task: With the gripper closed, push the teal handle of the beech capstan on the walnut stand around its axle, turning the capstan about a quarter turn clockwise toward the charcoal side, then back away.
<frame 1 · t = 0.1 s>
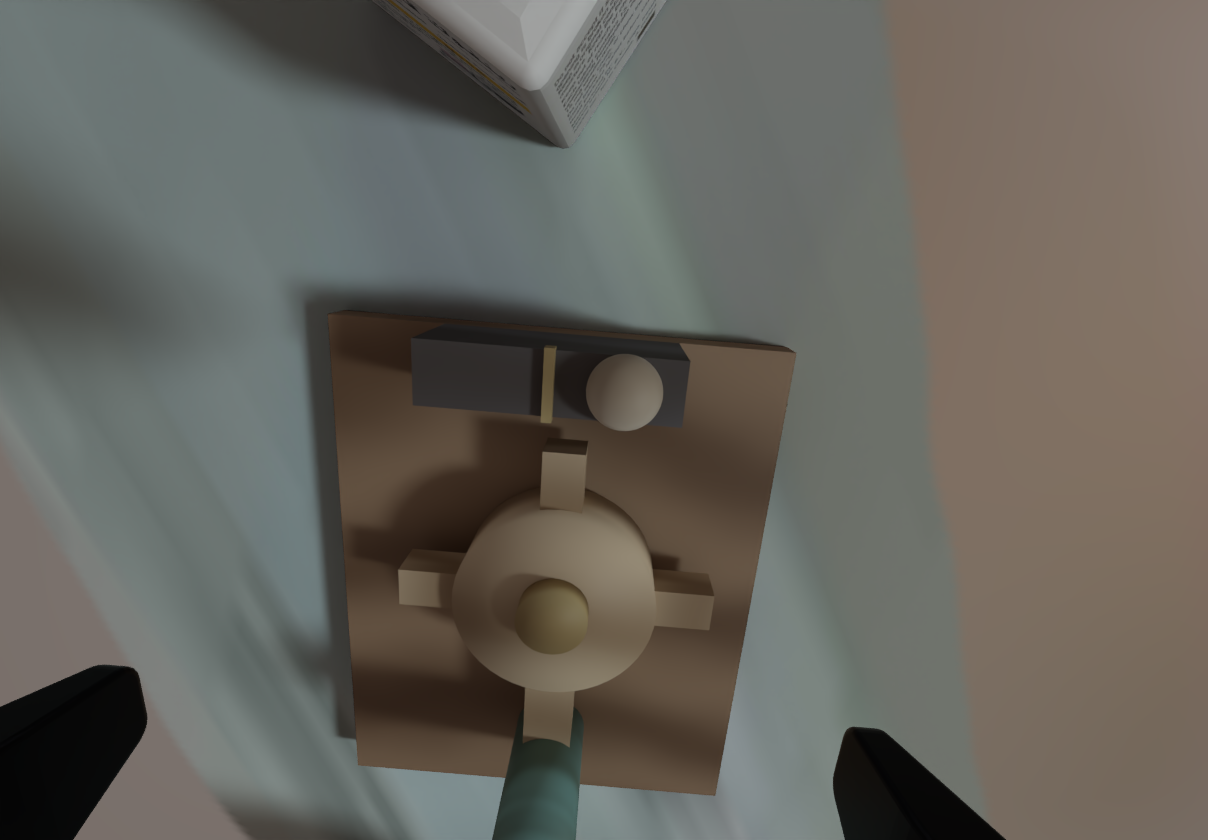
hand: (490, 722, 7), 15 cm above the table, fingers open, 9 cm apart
capstan: (548, 667, 19), point 5 cm above the table, hinge at 0.0°
stand: (551, 570, 23), on the table
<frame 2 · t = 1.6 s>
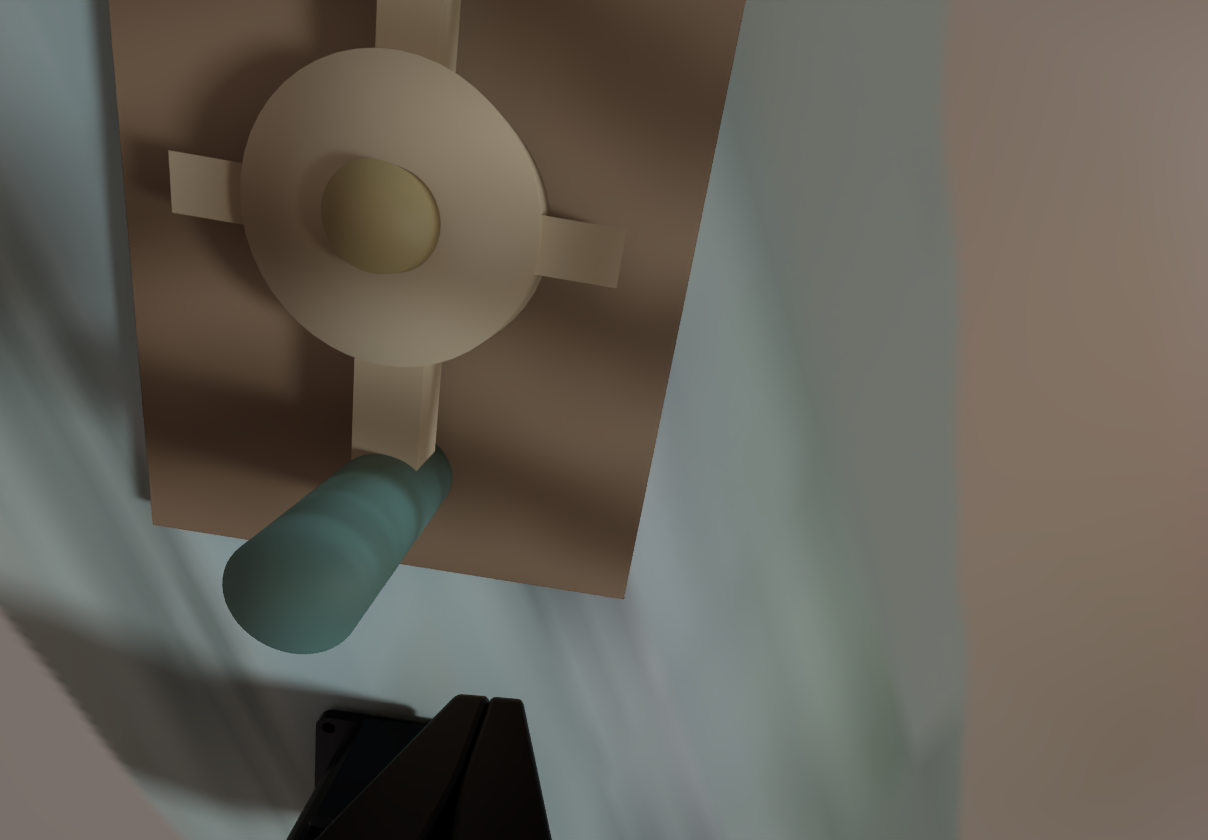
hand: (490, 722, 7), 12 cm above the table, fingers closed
capstan: (371, 296, 13), point 5 cm above the table, hinge at 0.0°
stand: (422, 257, 17), on the table
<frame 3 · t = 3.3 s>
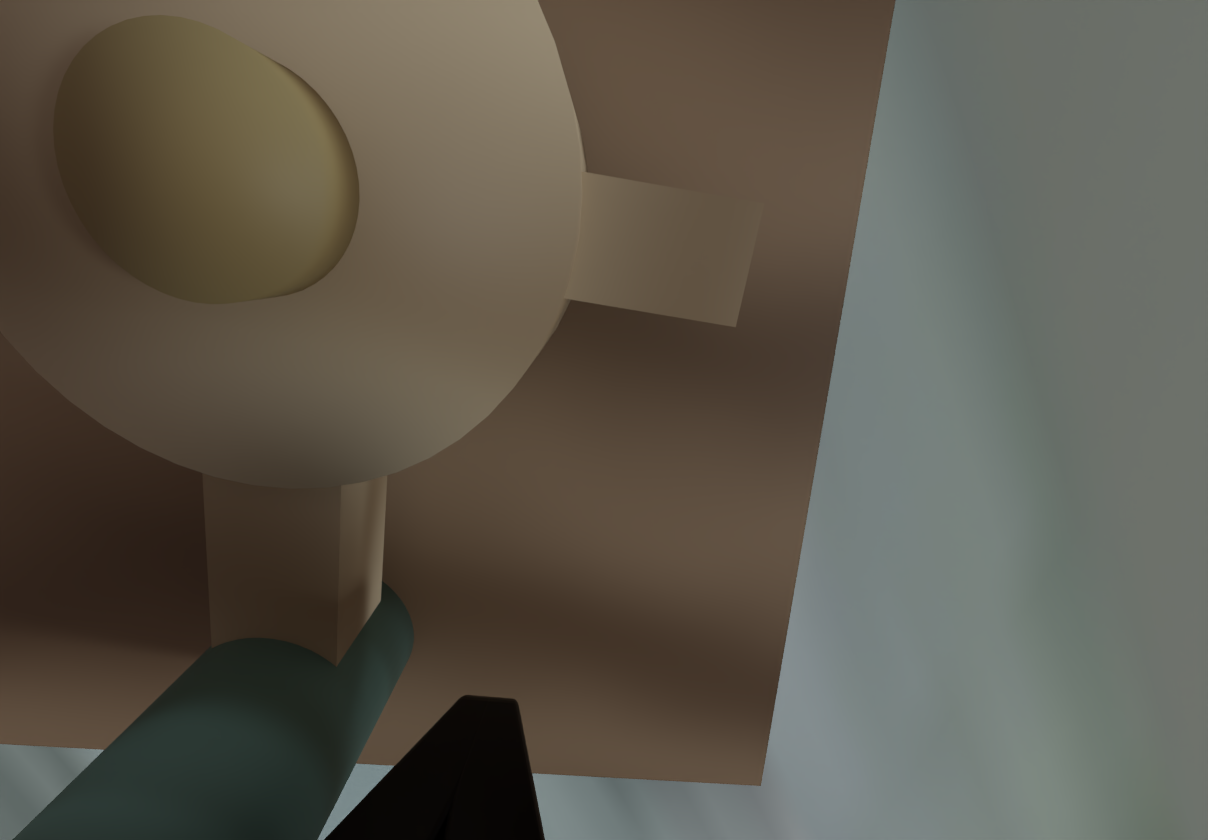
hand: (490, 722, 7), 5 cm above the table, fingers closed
capstan: (194, 354, 5), point 5 cm above the table, hinge at 6.6°, touching gripper
stand: (365, 266, 10), on the table
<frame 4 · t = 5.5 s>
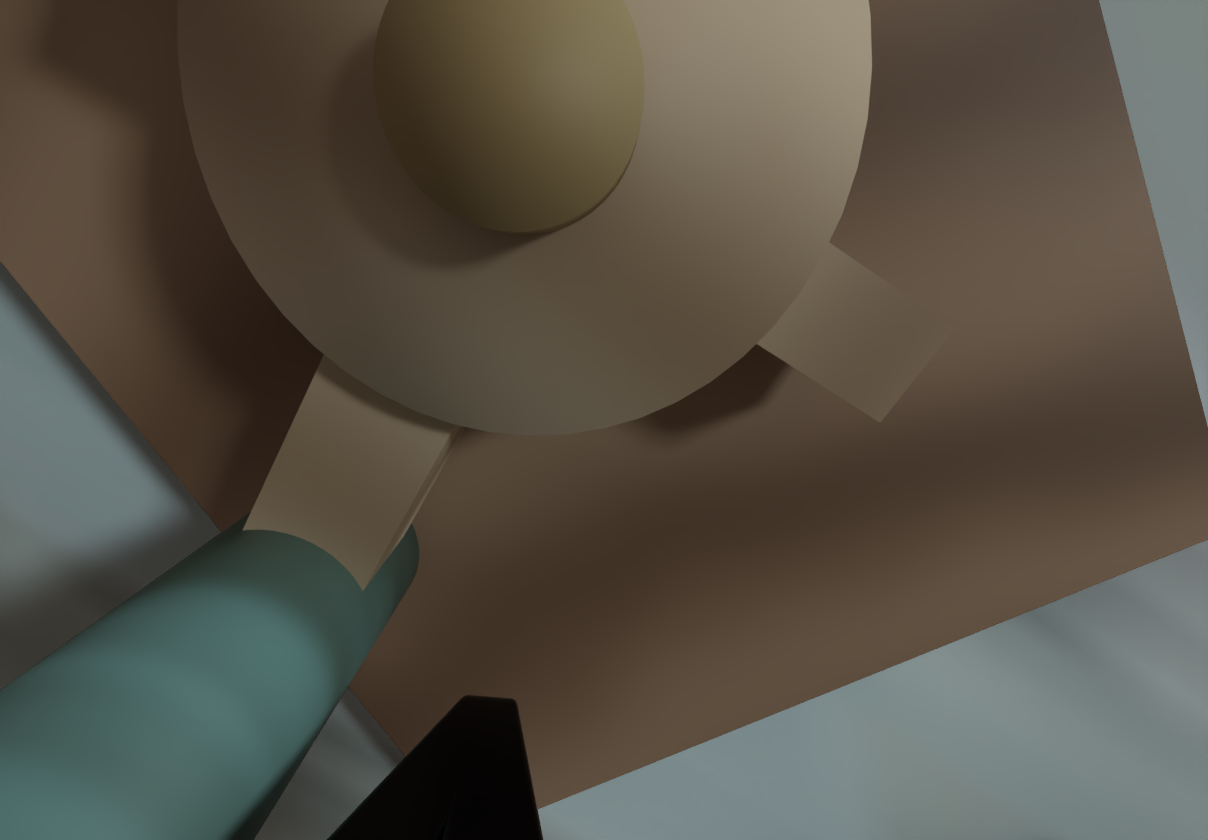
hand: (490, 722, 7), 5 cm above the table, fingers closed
capstan: (422, 259, 5), point 5 cm above the table, hinge at 60.1°, touching gripper
stand: (563, 236, 10), on the table
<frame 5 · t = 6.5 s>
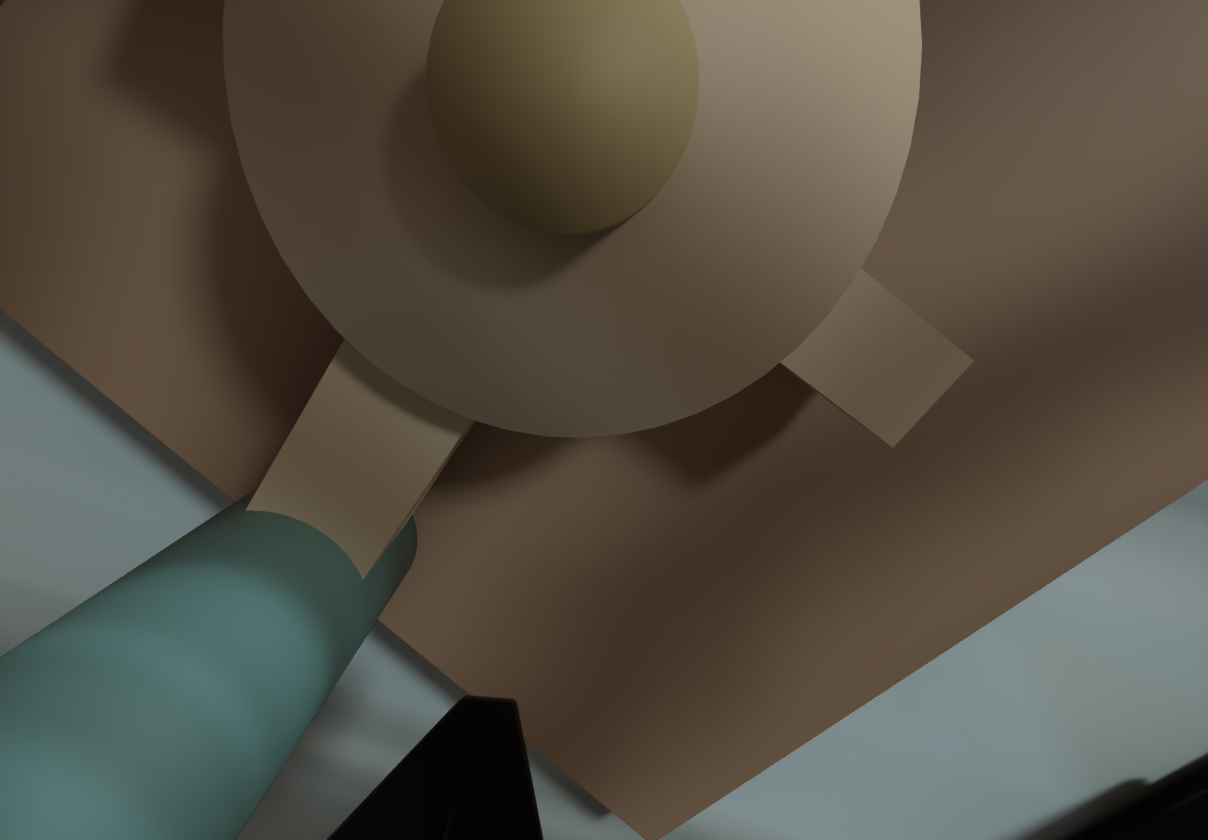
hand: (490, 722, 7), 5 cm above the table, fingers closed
capstan: (460, 253, 5), point 5 cm above the table, hinge at 79.0°, touching gripper
stand: (606, 234, 10), on the table
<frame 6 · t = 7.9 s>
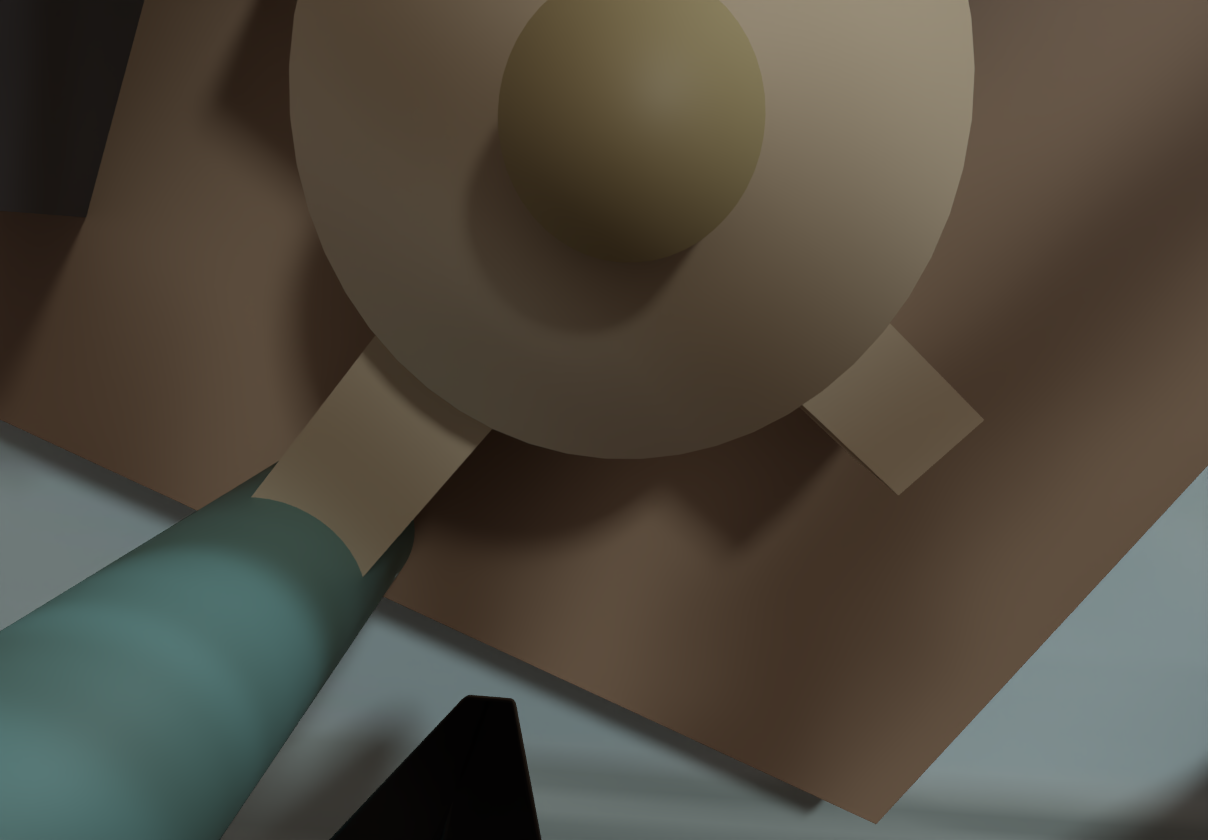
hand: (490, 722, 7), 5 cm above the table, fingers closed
capstan: (511, 270, 5), point 5 cm above the table, hinge at 102.7°, touching gripper
stand: (657, 243, 10), on the table
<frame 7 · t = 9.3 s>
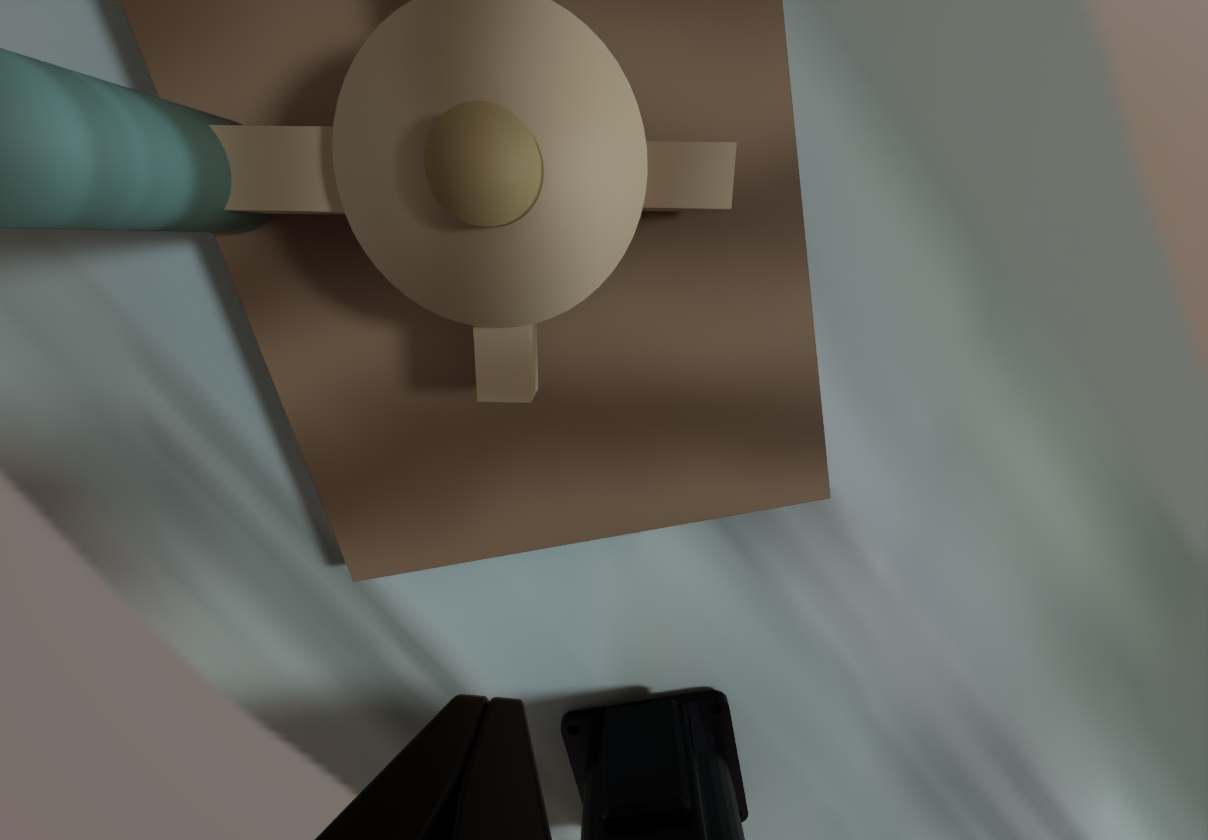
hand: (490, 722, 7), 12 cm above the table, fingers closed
capstan: (399, 164, 12), point 5 cm above the table, hinge at 102.8°
stand: (511, 226, 16), on the table
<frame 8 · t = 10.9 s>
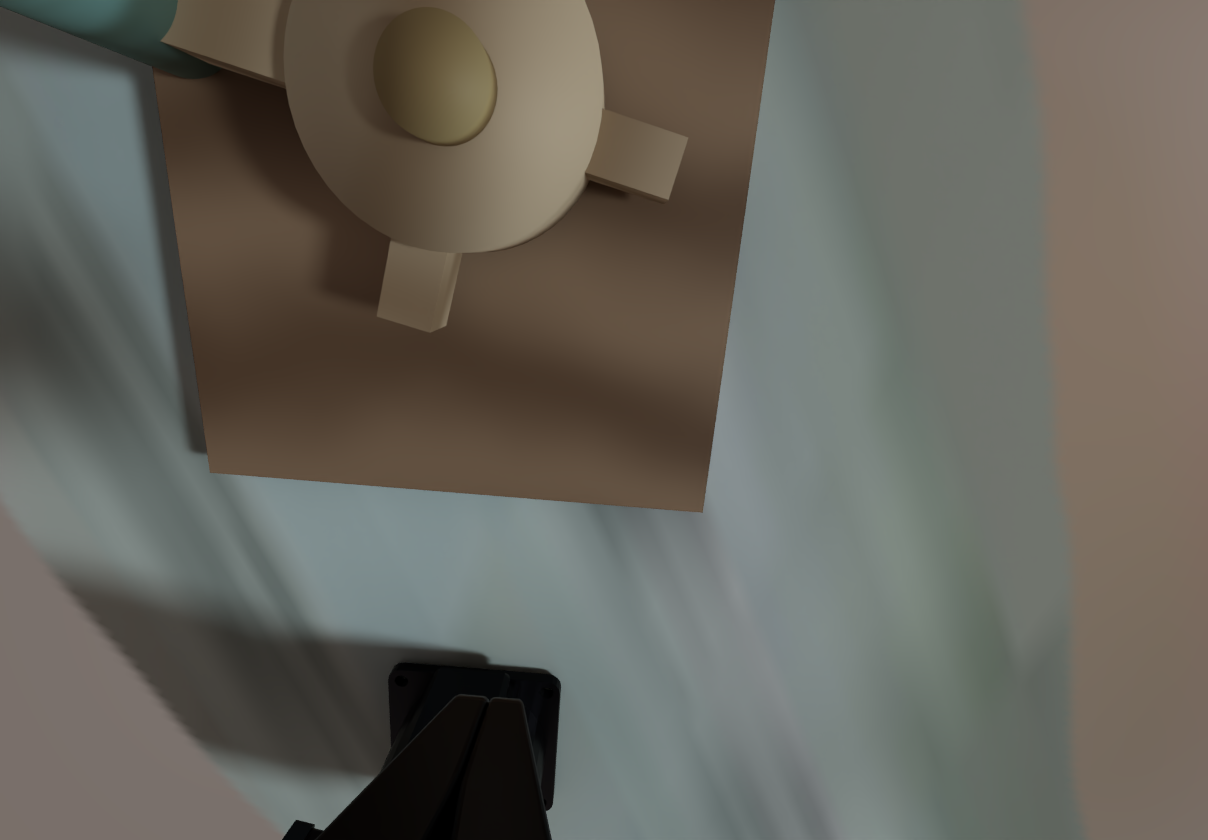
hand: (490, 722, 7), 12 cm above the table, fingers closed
capstan: (348, 47, 11), point 5 cm above the table, hinge at 102.8°
stand: (466, 161, 16), on the table
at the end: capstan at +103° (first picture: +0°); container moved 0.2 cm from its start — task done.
